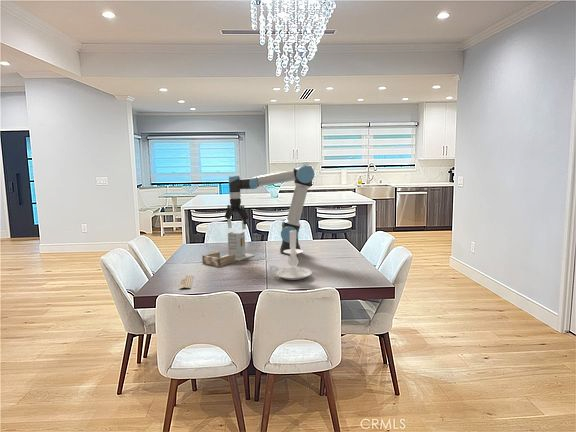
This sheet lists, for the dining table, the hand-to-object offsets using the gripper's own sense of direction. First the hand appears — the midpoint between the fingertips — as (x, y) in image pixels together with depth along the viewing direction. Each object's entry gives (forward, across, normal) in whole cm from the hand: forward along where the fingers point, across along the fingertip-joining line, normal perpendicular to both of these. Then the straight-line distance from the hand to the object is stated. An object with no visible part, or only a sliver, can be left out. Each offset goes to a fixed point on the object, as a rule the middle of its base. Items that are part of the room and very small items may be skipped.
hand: (236, 228), depth 276 cm
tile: (+20, -1, 0) cm, 20 cm away
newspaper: (+21, +18, -61) cm, 67 cm away
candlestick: (+21, +61, -22) cm, 69 cm away
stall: (+20, -1, -17) cm, 27 cm away
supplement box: (+20, -1, 0) cm, 20 cm away
